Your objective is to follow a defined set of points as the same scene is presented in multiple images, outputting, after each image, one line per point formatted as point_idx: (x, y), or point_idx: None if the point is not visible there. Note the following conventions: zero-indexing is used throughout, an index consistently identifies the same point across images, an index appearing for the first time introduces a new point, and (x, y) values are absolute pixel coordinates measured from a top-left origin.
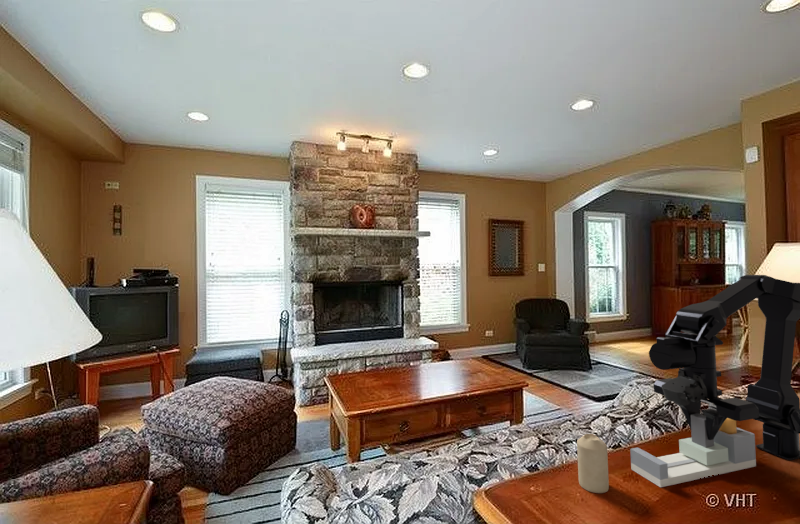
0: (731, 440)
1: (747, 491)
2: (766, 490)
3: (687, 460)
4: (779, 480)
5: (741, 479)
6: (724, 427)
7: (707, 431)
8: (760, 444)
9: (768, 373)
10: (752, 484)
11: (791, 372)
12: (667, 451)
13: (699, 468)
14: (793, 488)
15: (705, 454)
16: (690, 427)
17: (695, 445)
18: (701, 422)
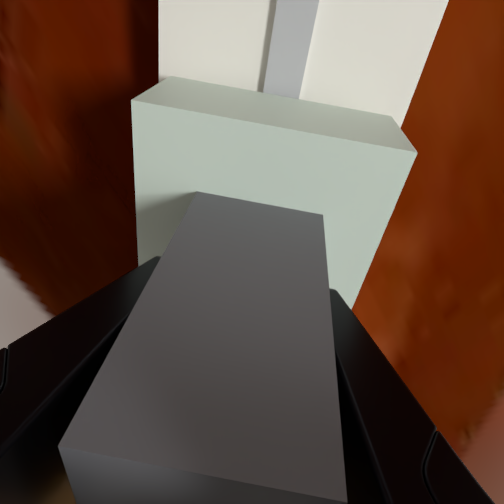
0: None
1: (5, 81)
2: (7, 177)
3: (297, 41)
4: (69, 298)
5: (106, 186)
6: None
7: (125, 302)
8: None
9: None
10: (60, 180)
11: None
12: (488, 164)
13: (191, 6)
14: (14, 278)
15: (151, 97)
16: (351, 319)
17: (263, 162)
18: (144, 386)
